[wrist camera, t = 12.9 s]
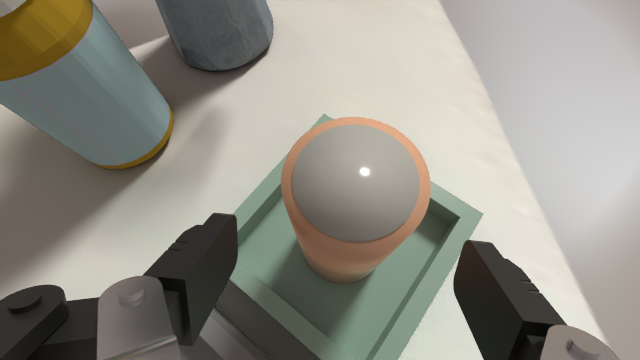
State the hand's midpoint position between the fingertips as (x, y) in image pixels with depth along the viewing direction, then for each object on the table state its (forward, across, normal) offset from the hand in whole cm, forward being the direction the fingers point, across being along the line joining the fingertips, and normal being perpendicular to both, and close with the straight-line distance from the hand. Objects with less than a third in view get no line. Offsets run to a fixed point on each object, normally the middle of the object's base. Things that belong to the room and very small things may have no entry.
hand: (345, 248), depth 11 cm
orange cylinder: (+8, 0, +5) cm, 9 cm away
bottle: (+13, +17, 0) cm, 21 cm away
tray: (+8, 0, +5) cm, 10 cm away
